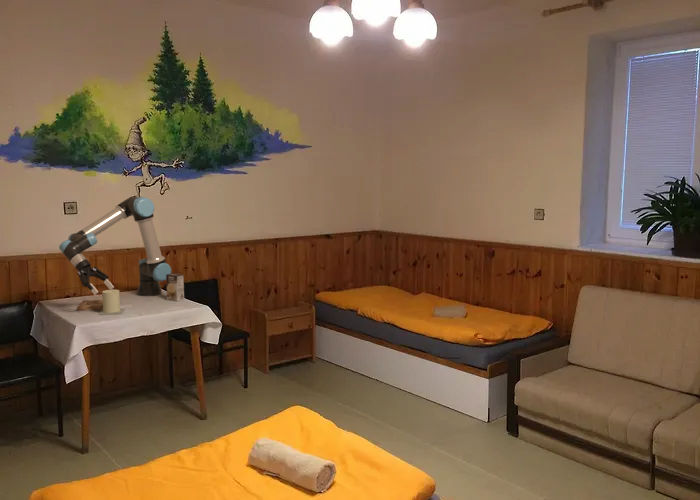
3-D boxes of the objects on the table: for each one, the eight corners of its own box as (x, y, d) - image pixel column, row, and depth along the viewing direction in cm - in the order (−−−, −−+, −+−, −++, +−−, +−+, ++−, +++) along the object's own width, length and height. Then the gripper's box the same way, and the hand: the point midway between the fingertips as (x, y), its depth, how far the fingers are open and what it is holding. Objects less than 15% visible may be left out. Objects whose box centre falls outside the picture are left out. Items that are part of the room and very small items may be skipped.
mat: (124, 309, 355) (124, 308, 355) (121, 314, 344) (121, 313, 343) (102, 310, 352) (102, 309, 352) (99, 315, 341) (98, 314, 341)
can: (114, 313, 342) (113, 292, 341) (99, 312, 344) (98, 291, 343) (123, 309, 351) (122, 289, 350) (109, 309, 353) (108, 288, 352)
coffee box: (166, 299, 382) (165, 274, 380) (173, 298, 388) (172, 272, 386) (177, 301, 378) (176, 275, 376) (184, 299, 384) (184, 274, 382)
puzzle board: (113, 303, 371) (113, 299, 371) (109, 309, 355) (109, 305, 354) (83, 304, 367) (83, 300, 367) (77, 310, 351) (77, 306, 350)
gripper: (92, 264, 362) (115, 291, 360) (61, 271, 338) (85, 299, 336) (99, 256, 360) (122, 282, 358) (68, 262, 336) (93, 290, 334)
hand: (104, 291), depth 347 cm, fingers open, 13 cm apart
